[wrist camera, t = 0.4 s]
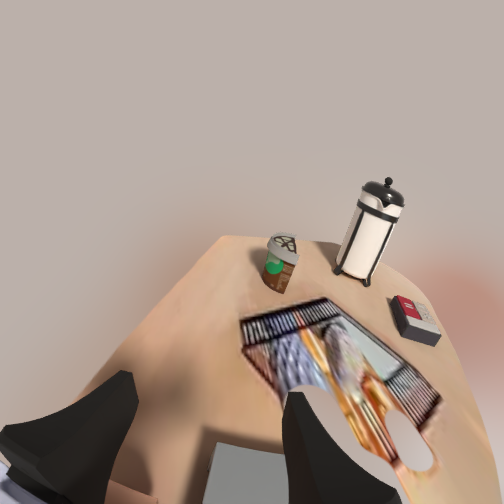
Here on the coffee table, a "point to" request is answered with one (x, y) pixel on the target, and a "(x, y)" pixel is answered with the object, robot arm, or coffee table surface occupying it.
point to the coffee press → (369, 230)
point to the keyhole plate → (246, 477)
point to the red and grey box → (415, 321)
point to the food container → (280, 261)
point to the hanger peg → (126, 495)
